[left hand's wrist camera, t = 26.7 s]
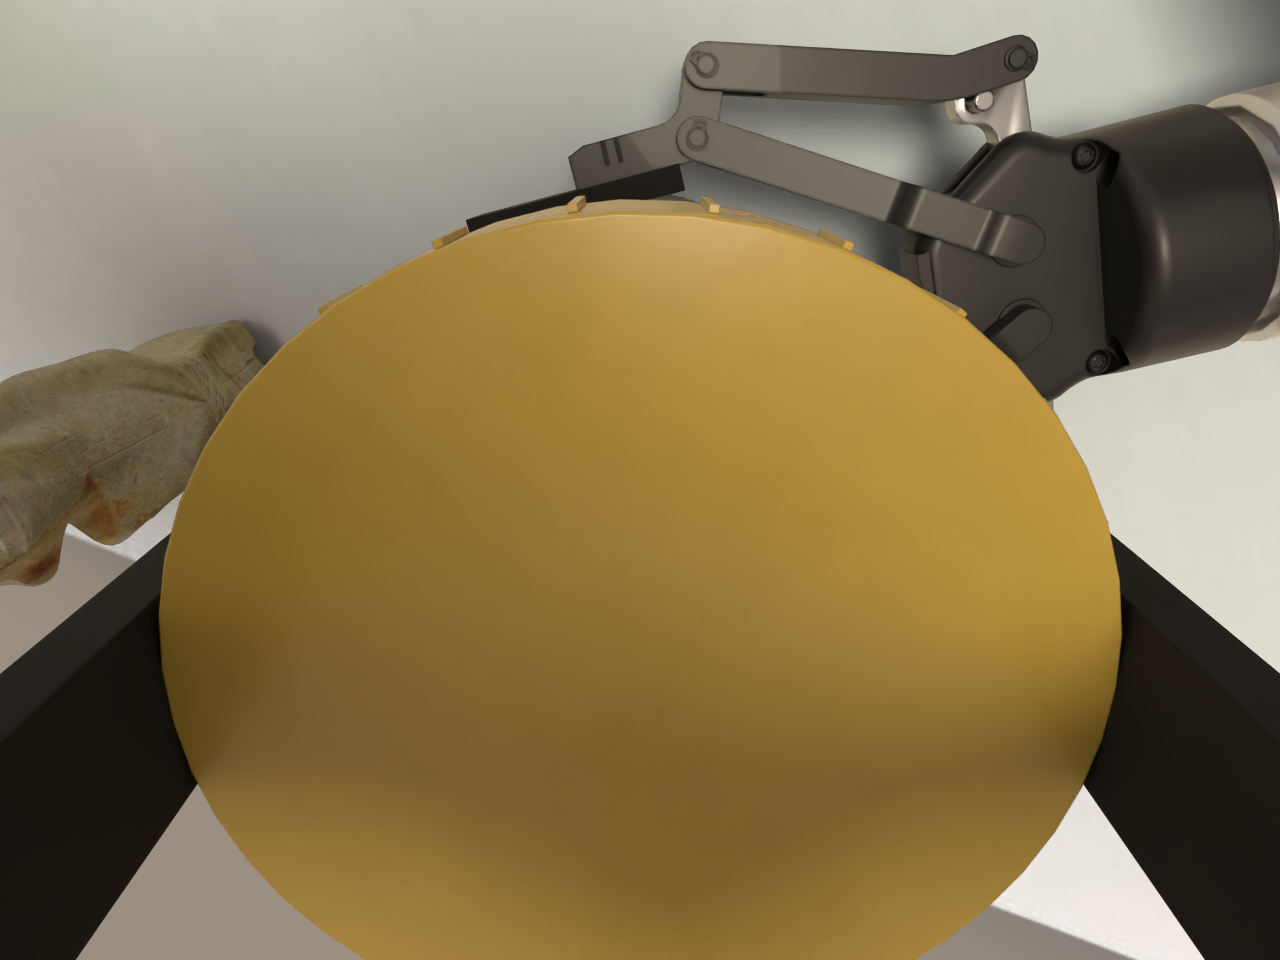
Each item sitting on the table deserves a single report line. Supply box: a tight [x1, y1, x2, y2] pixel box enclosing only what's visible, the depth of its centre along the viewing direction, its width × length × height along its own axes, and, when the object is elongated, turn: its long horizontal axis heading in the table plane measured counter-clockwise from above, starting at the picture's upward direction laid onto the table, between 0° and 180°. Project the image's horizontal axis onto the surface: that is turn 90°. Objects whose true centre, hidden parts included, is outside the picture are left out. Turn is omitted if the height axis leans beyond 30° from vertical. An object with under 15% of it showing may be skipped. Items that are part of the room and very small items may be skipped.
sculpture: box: [0, 320, 265, 586], centre depth 28 cm, size 6×7×15 cm
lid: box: [159, 196, 1122, 960], centre depth 11 cm, size 12×12×2 cm
